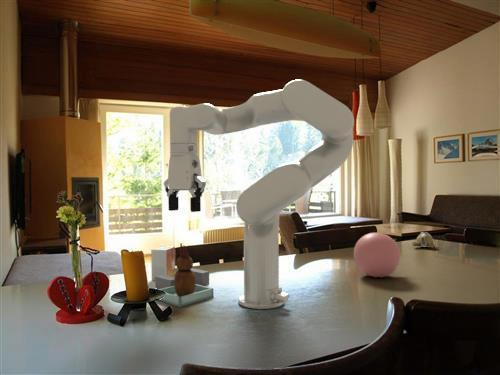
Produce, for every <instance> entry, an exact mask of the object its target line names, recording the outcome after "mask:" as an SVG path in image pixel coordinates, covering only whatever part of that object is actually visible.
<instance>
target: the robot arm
mask: <svg viewBox="0 0 500 375" xmlns="http://www.w3.org/2000/svg"><path fill="white" fill-rule="evenodd" d="M294 120H296V121H297V120H302V121H303V122H305V123H306V124H308V125H309V126H311V127H313V128H314V129H316V130H317V131H319V132H320V133H321V136H322V137H321V140H320V142H318V144H316V145H315V146H313V147H312V148H311V149H309V150H307V151H306V152H305V153H304V154H302V155H301V156H300V157H297V159H295V160H293V161H292V162H291V161H290V162H284V163H282V164H280V165H277V166H276V167H275V168H274V169H272V170H270V171H269V172H268V173H267V174H265V175H263V176H262V177H261V178H259V179H258V180H257V181H256V182H254V183H252V184H251V185H250V186H249V187H247V188H246V189H245V190H244V191H242V192H241V194H239V197H237V201H236V206H235V207H236V212H237V213H236V214H237V215H238V217H239V218H240V220H241V221H243V222H244V228H243V231H244V232H243V294H242V295H240V296H239V297H238V304H239V305H241V306H242V307H244V308H249V309H255V310H265V309H266V310H269V309H274V308H278V307H281V306H282V305H284V304H287V303H288V301H289V298H290V293H286V292H283V286H280V284H279V282H280V280H279V275H280V273H279V272H280V270H279V268H280V266H279V260H280V259H279V258H280V257H279V256H280V254H279V250H280V249H279V246H280V245H279V244H280V243H279V240H280V239H279V238H280V237H279V236H280V231H279V230H280V215H281V214H280V212H282V211H283V210H285V209H287V208H288V207H289V206H291V205H292V204H293V203H295V202H296V201H298V200H299V199H301V198H302V197H304V196H306V194H307V193H309V191H310V190H312V188H314V187H315V186H317V185H318V184H320V183H321V182H322V181H324V180H325V179H326V178H327V177H329V176H330V175H331V174H333V173H334V172H336V171H337V170H338V169H339V168H340V167H342V165H344V163H346V162H347V159H348V158H349V156H350V154H351V152H352V149H353V146H354V125H355V118H354V114H353V112H352V111H351V109H350V108H349V107H348V106H347V105H345V104H344V103H342V102H341V101H339V100H338V99H336V98H334V97H333V96H331V95H330V94H328V93H327V92H325V91H323V90H322V89H321V88H319V87H317V86H316V85H314V84H312V83H311V82H309V81H307V80H304V79H295V80H291V81H289V82H288V83H286V84H285V85H284V87H283V89H277V90H272V91H266V92H259V93H256V94H253V95H252V96H250V98H249V99H248V100H246V101H245V102H244V103H241V104H240V105H236V106H231V107H225V108H220V109H219V108H218V107H216V106H214V105H213V104H210V103H199V104H195V105H190V106H185V105H184V106H183V105H181V106H180V105H179V106H174V107H172V108H171V109H170V110H169V161H168V172H167V178H166V180H165V181H164V182H163V185H164V190H165V192H166V196H167V198H168V199H167V200H168V201H167V202H168V211H170V212H171V211H178V210H179V196H178V194H179V192H180V191H188V192H189V193H190V195H191V197H190V199H189V200H190V201H189V202H190V204H189V205H190V212H191V213H197V212H201V211H202V210H201V204H202V203H201V198H202V197H203V193H204V192H205V188H206V184H207V181H206V180H205V179H204V178H203V176H202V169H201V168H202V166H201V162H200V161H201V160H200V157H199V155H198V146H197V145H198V144H197V141H198V139H197V137H198V135H197V131H202V132H203V133H208V134H210V135H214V136H216V135H217V136H218V135H224V134H225V135H226V134H230V133H231V134H232V133H237V132H241V131H246V130H250V129H254V128H257V127H261V126H265V125H270V124H277V123H282V122H288V121H289V122H291V121H294Z"/></svg>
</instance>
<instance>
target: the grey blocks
mask: <svg viewBox="0 0 500 375" xmlns="http://www.w3.org/2000/svg"><path fill="white" fill-rule="evenodd" d="M190 270H192V271H193V273H194V275H195V284H197V285H201V286H206V285H210V271H208V270H202V269H198V268H193V267H192V268H191V269H190ZM174 277H175V276H174ZM174 277H170V276H166V275H159V276H155V280H154V289H155V288H157V289H163V288H167V287H171V286H174Z"/></svg>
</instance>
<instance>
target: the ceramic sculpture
mask: <svg viewBox="0 0 500 375" xmlns="http://www.w3.org/2000/svg"><path fill="white" fill-rule="evenodd" d="M411 243H412V246H413V247H414V246H418V247H419V246H426V247H428V246H429V247H428V248H430V247H432V248H431V249H434V248H435V247H436V245H437V244H436V242H435V241H434V238H433V237H432V235H431V234H430V233H429V232H427V231H426V230H423V231H421V232H420V234H419V235H418V236H417V237H416V240H413V241H412V242H411ZM433 247H434V248H433Z"/></svg>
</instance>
